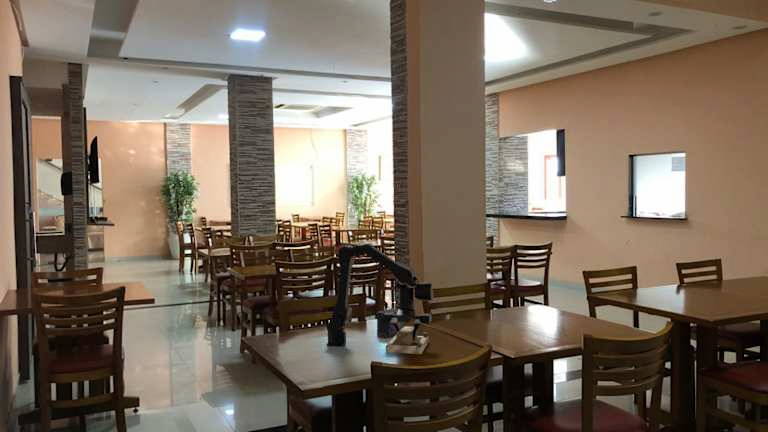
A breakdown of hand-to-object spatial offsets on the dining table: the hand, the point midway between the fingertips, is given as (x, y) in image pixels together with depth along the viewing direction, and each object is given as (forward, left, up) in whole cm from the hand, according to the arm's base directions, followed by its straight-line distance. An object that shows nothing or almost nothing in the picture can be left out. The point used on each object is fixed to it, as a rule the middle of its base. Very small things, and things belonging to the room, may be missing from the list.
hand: (407, 339), depth 242 cm
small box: (-11, +20, -3) cm, 23 cm away
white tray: (0, 0, -3) cm, 3 cm away
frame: (0, 0, -1) cm, 1 cm away
